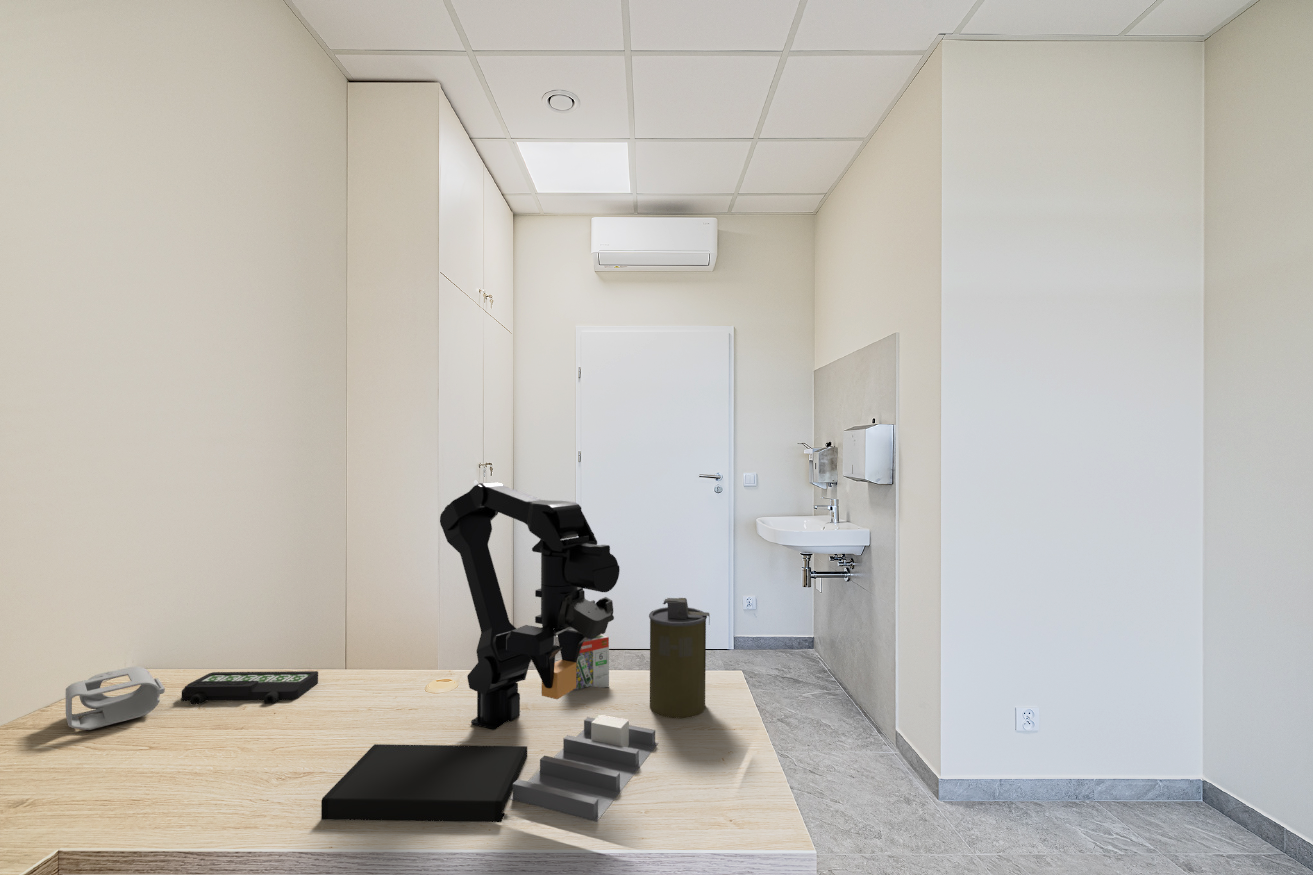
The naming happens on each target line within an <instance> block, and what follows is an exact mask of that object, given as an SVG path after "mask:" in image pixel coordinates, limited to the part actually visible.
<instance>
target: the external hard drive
mask: <svg viewBox="0 0 1313 875" xmlns="http://www.w3.org/2000/svg"><path fill="white" fill-rule="evenodd" d="M527 759H528V745H462V744H460V745H456V744H455V745H453V744H452V745H451V744H450V745H449V744H448V745H447V744H443V745H442V744H387V743H386V744H385V743H384V744H381V743H379V744H378V743H375V744H373V745H372V746H371V747H369V749H368V750H367V751H366V753H365V754H363V755H362V756H361V757H360V758H359V760H358V761H357V762H356V763H355V764H354V765H352V767H351V768H350V769H348V771H346V773H345V774H344V775H343V776H342V777H341V778H340V779H339V780H338V781H337V783H335V784H334V786H332V788H330V790H329V791H328V792H327V793H325V795H324V796H323V797H322V799H321V804H320V805H321V811H320V813H321V814H320V815H321V816H320V817H321V818H320V820H323V821H325V820H327V821H380V822H381V821H382V822H383V821H387V822H389V821H392V822H393V821H394V822H454V823H455V822H457V823H459V822H460V823H462V822H463V823H465V822H466V823H502V822H503V819H504V818H505V815H506V813H505V812H504V810H505V807H506V806H507V803H508V802H509V800H510V799H509V798H510V797H511V794H512V793H513V783H514V782H515V781H516V780H518V779H519V776H520V773H521V772H522V769H523V767H524V764H525V762H526V760H527Z"/></svg>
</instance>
